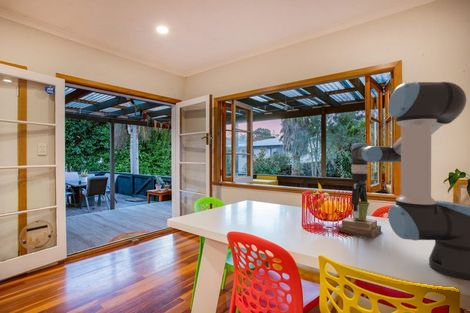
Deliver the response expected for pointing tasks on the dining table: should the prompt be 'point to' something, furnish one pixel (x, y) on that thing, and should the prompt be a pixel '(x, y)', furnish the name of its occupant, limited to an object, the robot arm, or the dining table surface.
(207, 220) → the dining table surface
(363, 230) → the plinth
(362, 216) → the plant pot
